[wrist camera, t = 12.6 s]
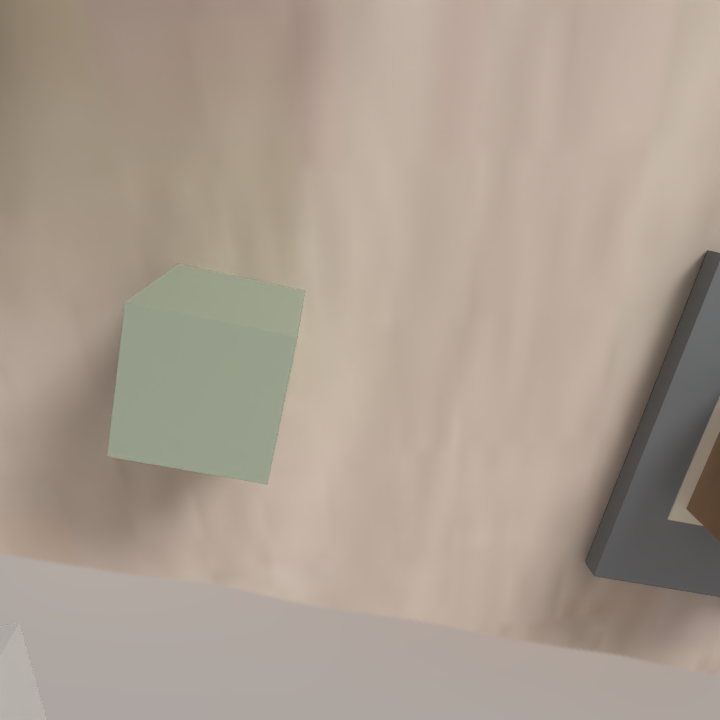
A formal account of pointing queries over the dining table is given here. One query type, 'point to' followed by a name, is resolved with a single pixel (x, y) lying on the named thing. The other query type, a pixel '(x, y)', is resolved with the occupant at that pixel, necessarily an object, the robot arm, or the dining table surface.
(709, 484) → the walnut block
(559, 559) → the dining table surface
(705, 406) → the grey flat slab
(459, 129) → the dining table surface
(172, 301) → the sage brick
